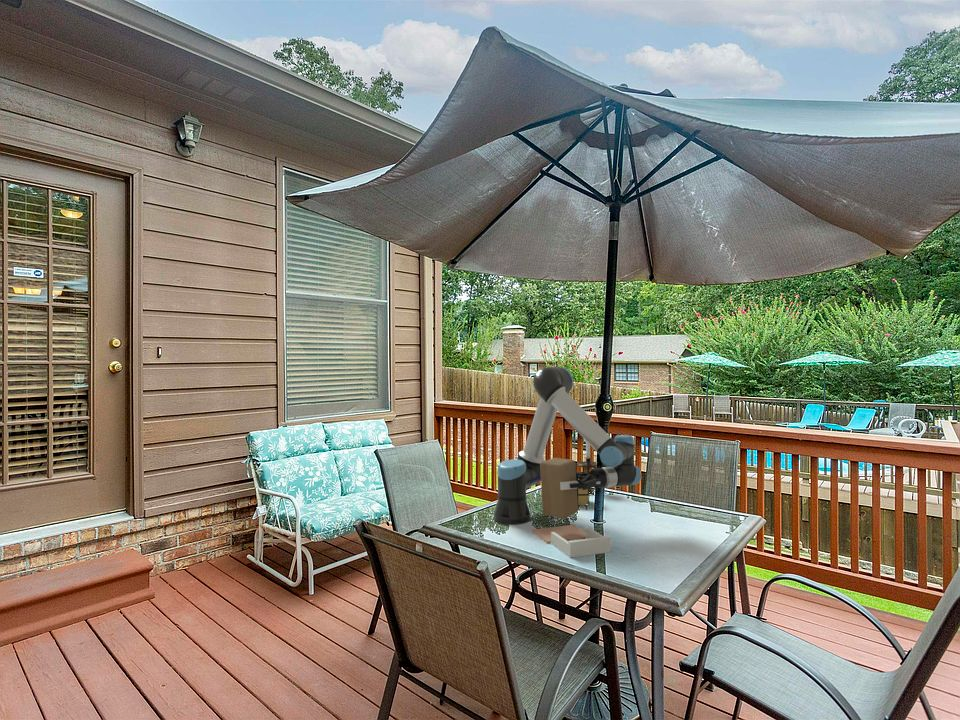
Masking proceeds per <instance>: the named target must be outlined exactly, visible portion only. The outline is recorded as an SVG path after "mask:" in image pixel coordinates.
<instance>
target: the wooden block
mask: <svg viewBox="0 0 960 720" xmlns="http://www.w3.org/2000/svg"><path fill="white" fill-rule="evenodd" d="M576 466H577V464H576V460H574V459H568V458H563V457H562V458H561V457H552V458H550V459H547V460H545V461H544V462H541V463H540V474H541V481H540V488H541V501H542V503H541V504H542V513H543V515H545V516H548V517H549V516H550V517H554V518H558V519H562V520H564V519H567V518H569V517H570V516H572V515H574V514H576V513H578V511H579V506H578V499H577V489H567V490H560V482H567V481H576V472H577V467H576Z"/></svg>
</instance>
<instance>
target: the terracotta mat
mask: <svg viewBox="0 0 960 720" xmlns="http://www.w3.org/2000/svg"><path fill="white" fill-rule="evenodd" d="M530 531H532V532H531V533H532V534H534V533H535V534H536V536H537V538H539V537H540V538H539V539H541V540H542V539H543V540H544V541H543V540H542V541H543V542H544V543H546V542H547V543H546V544H551V543H550V542H551V532H555V533H557V534H558V535H559V536H561V537H562V538H564V539H565V540H569V541H573V540H574V539H577V540H581V539H583V538H585V539H586V531H584V530H583V529H581V528H579V526H578V527H577V525H574V524H570V525H569V524H568V525H560V526H552V527H543V528H535V529H531V530H530ZM535 534H534V535H535Z"/></svg>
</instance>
